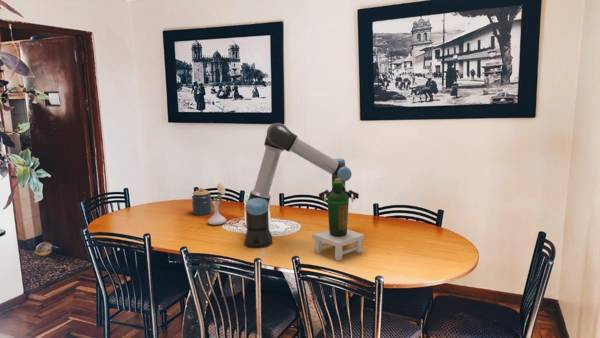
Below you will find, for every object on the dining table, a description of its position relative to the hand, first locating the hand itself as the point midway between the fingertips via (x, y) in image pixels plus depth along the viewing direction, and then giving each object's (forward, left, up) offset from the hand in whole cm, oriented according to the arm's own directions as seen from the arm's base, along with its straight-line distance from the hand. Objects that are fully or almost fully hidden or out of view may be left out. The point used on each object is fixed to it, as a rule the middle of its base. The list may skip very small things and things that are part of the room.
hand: (338, 199), depth 209 cm
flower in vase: (-21, +85, -26) cm, 91 cm away
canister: (-17, +113, -26) cm, 117 cm away
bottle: (-2, -1, -17) cm, 18 cm away
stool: (-2, -1, -26) cm, 26 cm away
